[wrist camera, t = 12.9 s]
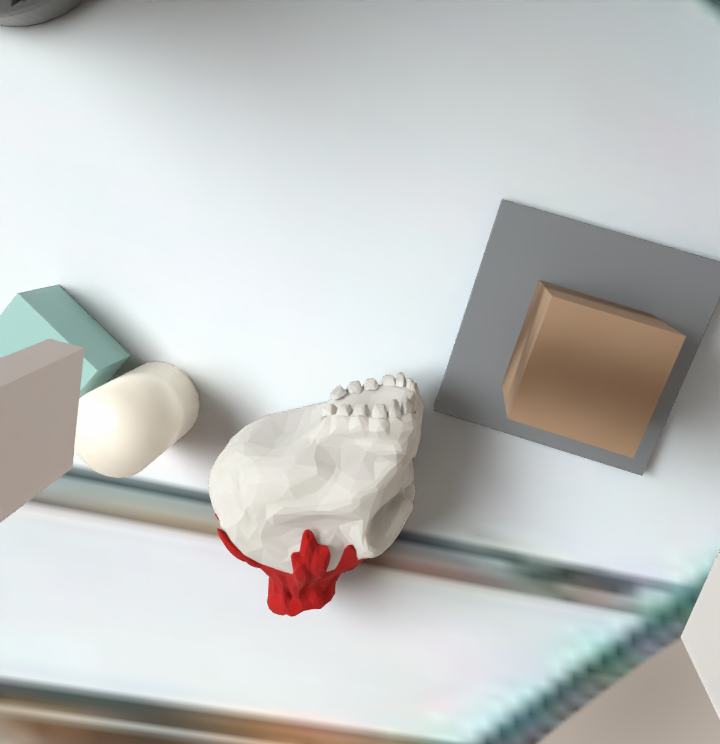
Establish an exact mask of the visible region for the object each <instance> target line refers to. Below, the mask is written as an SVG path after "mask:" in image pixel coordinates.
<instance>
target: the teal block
mask: <svg viewBox="0 0 720 744" xmlns="http://www.w3.org/2000/svg"><path fill="white" fill-rule="evenodd" d="M47 339H53V340H57V341H60V342H64V343H68V344H72V345H76V346H79V347H83V348H84V358H83V367H82V377H81V387H80V397H79V399H80V398H81V397H82V396H84V395H85V394H87V393H88V392H90V391H92V390H94V389H96V388H98V387H100V386H102V385H104V384H106V383H107V382H108V380H109V379H110V378H111V377H112V376H113V375H114V374H115V373H116V371H117V370H118V369H119V368H120V367H121V366H122V365H123V364H124V363H125V361H126V360H127V359H128V358H129V357H130V356H131V354H130V353H129V352H128V351H126V350H125V349H124V348H123V347H122V346H121V345H120V344H119V343H118V342H117V341H116V340H115V339H114V338H113V337H112V336H111V335H110V334H109V333H108V332H107V331H106V330H105V329H104V328H103V327H102V326H101V325H100V324H99V323H98V322H97V321H96V320H95V319H94V318H93V317H92V316H91V315H89V314H88V313H87V312H86V311H85V310H84V309H83V308H82V307H81V306H80V305H79V304H78V303H77V302H76V301H75V300H74V299H73V298H72V297H71V296H70V295H69V294H68V293H67V292H66V291H65V290H64V289H63V288H62V287H61V286H60V285H54V286H50V287H45V288H40V289H36V290H31V291H26V292H22V293H18V294H17V295H16V296H15V298H14V299H13V300H12V301H11V303H10V304H9V305H8V307H7V308H6V309H5V310H4V312H3V313H2V314H1V315H0V358H2V357H5V356H7V355H10V354H12V353H15V352H17V351H20V350H22V349H25V348H27V347H30V346H32V345H35V344H37V343H39V342H42V341H44V340H47Z"/></svg>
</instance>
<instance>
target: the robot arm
mask: <svg viewBox="0 0 720 744" xmlns="http://www.w3.org/2000/svg"><path fill="white" fill-rule="evenodd" d="M82 1H84V0H0V25H2V26H26V25H33V24H38V23H42V22H45V21H48V20H51V19H54V18H56V17H58V16H60V15H62V14H64V13H66V12H68V11H69V10H71V9H73V8H74V7H76V6H77V5H78V4H80V3H81V2H82ZM83 358H84V348H83V347H79V346H76V345H72V344H68V343H64V342H60V341H57V340H53V339H47V340H44V341H42V342H39V343H37V344H35V345H32V346H30V347H27V348H25V349H22V350H20V351H17V352H15V353H12V354H10V355H7V356H5V357H2V358H0V522H2V521H3V520H4V519H6V518H7V517H8V516H10V515H11V514H12V513H14V512H15V511H16V510H17V509H19V508H20V507H21V506H23V505H24V504H25V503H27V502H28V501H29V500H31V499H32V498H33V497H35V496H36V495H37V494H39V493H40V492H41V491H43V490H44V489H45V488H46V487H48V486H49V485H50V484H52V483H53V482H54V481H56V480H57V479H58V478H60V477H61V476H62V475H64V474H65V473H66V472H68V471H69V470H70V469H72V465H73V456H74V446H75V436H76V426H77V416H78V407H79V397H80V387H81V377H82V367H83ZM681 639H682V641H683V643H684V645H685V647H686V650H687V651H688V654H689V656H690V658H691V660H692V662H693V664H694V666H695V669H696V671H697V673H698V675H699V677H700V679H701V681H702V683H703V685H704V688H705V690H706V692H707V694H708V696H709V698H710V700H711V702H712V704H713V706H714V709H715V711H716V713H717V715H718V717H719V719H720V550H719V553H718V555H717V557H716V559H715V562H714V564H713V566H712V568H711V571H710V573H709V575H708V577H707V580H706V582H705V584H704V586H703V588H702V591H701V593H700V595H699V597H698V600H697V602H696V604H695V606H694V609H693V611H692V613H691V615H690V618H689V620H688V622H687V624H686V626H685V629H684V631H683V633H682V635H681Z"/></svg>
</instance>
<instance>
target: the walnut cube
mask: <svg viewBox="0 0 720 744" xmlns="http://www.w3.org/2000/svg"><path fill="white" fill-rule="evenodd" d="M685 338H686V336H685V335H683V334H681V333H680V332H678V331H677V330H675V329H674V328H672V327H671V326H669V325H668V324H666V323H664V322H663V321H661V320H660V319H658V318H657V317H655V316H654V315H652V314H650V313H647V312H644V311H640V310H637V309H634V308H630V307H627V306H624V305H620V304H617V303H614V302H610V301H607V300H604V299H600V298H597V297H594V296H590V295H587V294H584V293H580V292H577V291H574V290H570V289H567V288H564V287H560V286H557V285H554V284H550V283H547V282H544V281H540V280H539V281H538V284H537V287H536V289H535V292H534V295H533V298H532V301H531V303H530V306H529V309H528V312H527V315H526V317H525V320H524V323H523V326H522V329H521V331H520V334H519V337H518V340H517V343H516V345H515V348H514V351H513V354H512V357H511V359H510V362H509V365H508V368H507V370H506V373H505V376H504V379H503V382H502V390H503V396H504V402H505V407H506V413H507V419H511V420H514V421H517V422H520V423H523V424H526V425H530V426H533V427H536V428H539V429H542V430H545V431H548V432H552V433H555V434H558V435H561V436H564V437H567V438H571V439H574V440H577V441H580V442H583V443H586V444H590V445H593V446H596V447H599V448H602V449H605V450H609V451H612V452H615V453H618V454H621V455H624V456H628V457H631V458H634V456H635V453H636V451H637V449H638V446H639V444H640V442H641V440H642V437H643V435H644V433H645V430H646V428H647V426H648V423H649V421H650V419H651V416H652V414H653V412H654V409H655V407H656V405H657V403H658V400H659V398H660V396H661V393H662V391H663V389H664V386H665V384H666V382H667V379H668V377H669V375H670V372H671V370H672V368H673V365H674V363H675V361H676V359H677V356H678V354H679V352H680V349H681V347H682V345H683V342H684V340H685Z"/></svg>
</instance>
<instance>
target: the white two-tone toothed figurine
mask: <svg viewBox="0 0 720 744" xmlns="http://www.w3.org/2000/svg"><path fill="white" fill-rule="evenodd" d="M330 397H331V399H330V400H329V401H328V402H325V403H319V404H314V405H309V406H305V407H301V408H297V409H293V410H288V411H283V412H279V413H274V414H269V415H266V416H264V417H262V418H260V419H258V420H256V421H254V422H252V423H250V424H248V425H246V426H245V427H244V428H243V429H241V430H240V431H239V432H238V433H237V434H236V435H234V436H233V437H232V438H231V439H230V441H229V443H228V444H227V446H226V447H225V449H224V450H223V451H222V452H221V454H220V455H219V456H218V457H217V459H216V461H215V463H214V465H213V467H212V469H211V471H210V477H209V494H210V498H211V502H212V506H213V508H214V510H215V512H216V514H215V515H216V517H217V519H218V520H219V521H220V526H221V530H220V529H218V530H217V531H218V533H219V536H220V538H221V540H222V541H223V543H224V545H225V546H226V548H227V549H228V550H229V551H230V553H231V554H233V555H234V556H235V557H236V558H238V559H240V560H242V561H244V562H247V563H248V564H249V565H251V566H253V567H257V568H261V569H262V570H263V571H264V572H265V573H266V574H267V575H268V576H269V577H270V578H269V588H268V599H267V604H268V606H269V609H270V610H271V611H272V612H273V613H276V614H279V615H285V614H287V615H289V616H291V617H292V616H296V615H297V614H299V613H301V612H303V611H305V610H310V609H321V608H322V607H323V606H324V605H325V604H327V603H328V602H329V601H330V600H331V599H332V597H333V596H334V594H335V583H336V581H337V579H338V577H339V576H340V574H341V573H343V572H346V571H349V570H352V569H354V568H355V567H356V566H357V565H359V564H360V563H361V562H362V561H364V560H365V558H374V557H377V556H379V555H381V554H382V553H383V552H384V551H385V550H386V549H387V548H389V547H390V546H391V545H392V543H393V542H394V540H395V539H396V538H397V536H398V535H399V533H400V532H401V530H402V528H403V526H404V525H405V523H406V521H407V519H408V517H409V515H410V514H411V512H412V510H413V506H414V505H413V500H414V497H415V491H416V488H415V485H414V482H413V480H414V469H413V459H412V458H414V457H416V454H417V450H418V446H419V443H420V437H421V427H422V419H423V413H424V405H423V401H422V399H421V396H420V395H419V390H418V387H417V384H416V383H414V381H413V380H412V379H407V382H406V379H405V376H404V374H403V373H402V372H401V373H398V375H397V379H395V378H394V377H393V376H391V375H385V376H384V377H383V378H382V385H378V383H377V381H376V380H375V379H374V378H371V379H367V380H366V381H364V384H363V387H361V384H360V382H359V381H354V382H350V384H349V385H348V387H347V389H346V390H344V389H343V388H342V387H341V385H340V386H337V387H336V388H335V389H333V390H332V391H331V393H330Z"/></svg>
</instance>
